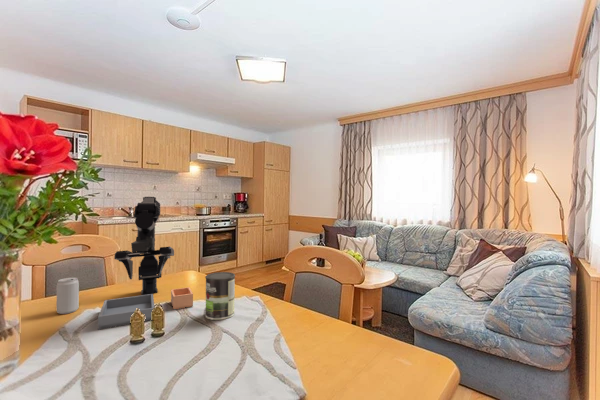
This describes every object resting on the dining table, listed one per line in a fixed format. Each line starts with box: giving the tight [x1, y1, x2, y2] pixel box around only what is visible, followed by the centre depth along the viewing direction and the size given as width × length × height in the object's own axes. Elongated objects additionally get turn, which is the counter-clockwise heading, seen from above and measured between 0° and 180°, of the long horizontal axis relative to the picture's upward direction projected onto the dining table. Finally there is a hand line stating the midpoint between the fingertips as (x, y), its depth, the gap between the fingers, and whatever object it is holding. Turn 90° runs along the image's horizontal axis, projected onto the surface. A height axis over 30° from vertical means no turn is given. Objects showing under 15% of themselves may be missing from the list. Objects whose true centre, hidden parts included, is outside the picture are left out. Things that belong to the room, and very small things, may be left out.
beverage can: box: [56, 277, 80, 315], centre depth 106 cm, size 6×6×12 cm
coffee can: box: [204, 271, 236, 321], centre depth 103 cm, size 10×10×14 cm
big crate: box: [97, 293, 155, 331], centre depth 103 cm, size 18×16×4 cm
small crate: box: [170, 286, 194, 310], centre depth 114 cm, size 10×7×5 cm
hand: (144, 277), depth 103 cm, fingers open, 9 cm apart
